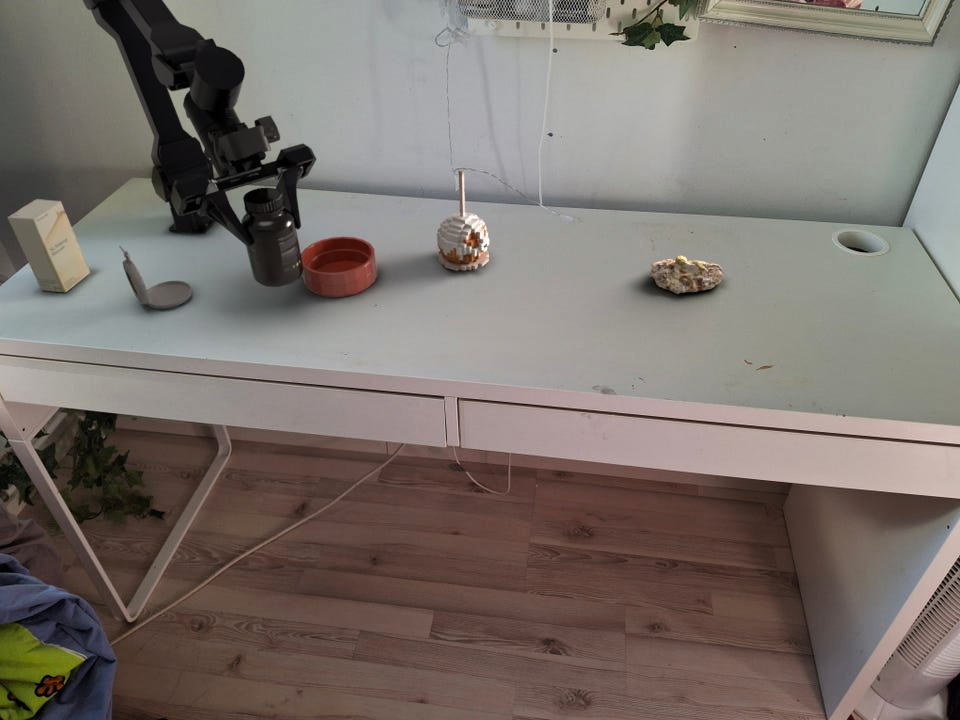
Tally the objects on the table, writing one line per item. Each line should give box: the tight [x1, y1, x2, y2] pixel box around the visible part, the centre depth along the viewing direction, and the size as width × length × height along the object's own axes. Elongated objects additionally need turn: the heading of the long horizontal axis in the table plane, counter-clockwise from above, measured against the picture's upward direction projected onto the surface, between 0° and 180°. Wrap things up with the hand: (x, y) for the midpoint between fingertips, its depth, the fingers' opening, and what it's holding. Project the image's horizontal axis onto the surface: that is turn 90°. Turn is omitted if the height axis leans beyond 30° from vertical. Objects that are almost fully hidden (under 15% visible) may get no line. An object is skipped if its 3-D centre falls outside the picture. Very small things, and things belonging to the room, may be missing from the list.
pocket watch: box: [118, 245, 193, 310], centre depth 102 cm, size 8×8×10 cm
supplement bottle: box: [240, 187, 303, 288], centre depth 95 cm, size 7×7×12 cm
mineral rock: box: [650, 255, 725, 295], centre depth 106 cm, size 11×4×8 cm
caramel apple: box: [436, 168, 490, 272], centre depth 108 cm, size 8×8×15 cm
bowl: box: [301, 236, 378, 298], centre depth 107 cm, size 11×11×4 cm
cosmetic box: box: [7, 198, 91, 293], centre depth 105 cm, size 6×4×12 cm
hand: (274, 236), depth 94 cm, fingers closed on supplement bottle, 7 cm apart
